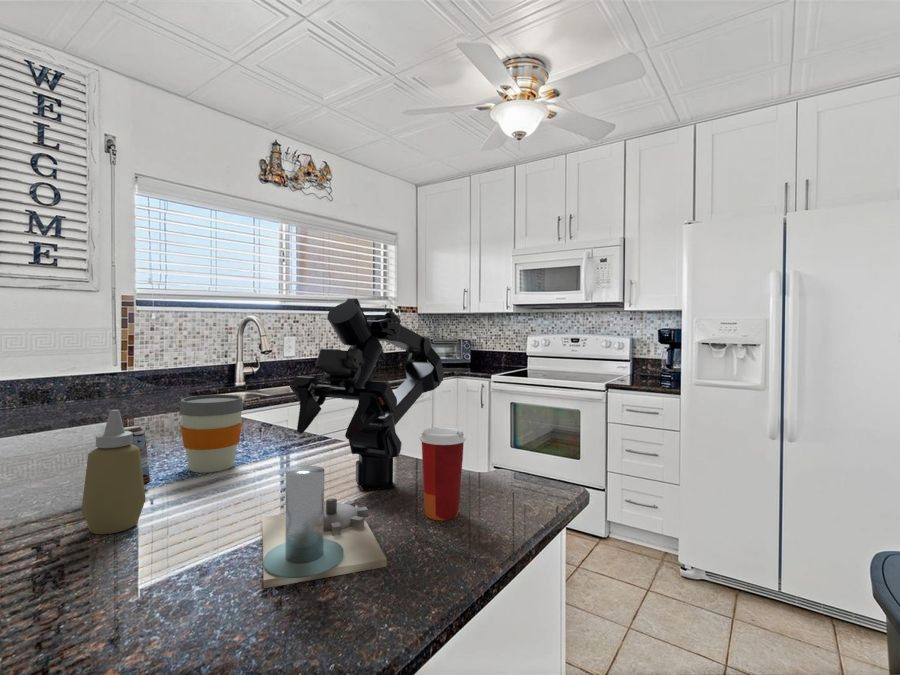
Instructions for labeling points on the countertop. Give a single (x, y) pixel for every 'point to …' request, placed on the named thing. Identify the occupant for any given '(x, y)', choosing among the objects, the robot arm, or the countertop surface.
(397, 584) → the countertop surface
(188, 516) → the countertop surface
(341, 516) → the board
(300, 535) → the axle
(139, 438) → the beverage can
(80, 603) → the countertop surface
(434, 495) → the paper cup
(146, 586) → the countertop surface
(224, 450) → the reusable coffee cup
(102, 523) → the squeeze bottle
